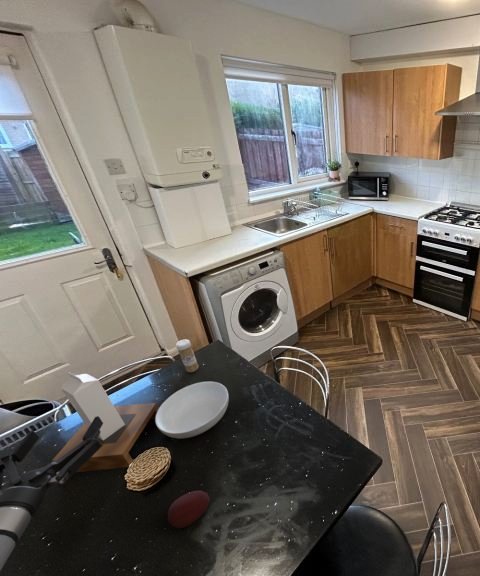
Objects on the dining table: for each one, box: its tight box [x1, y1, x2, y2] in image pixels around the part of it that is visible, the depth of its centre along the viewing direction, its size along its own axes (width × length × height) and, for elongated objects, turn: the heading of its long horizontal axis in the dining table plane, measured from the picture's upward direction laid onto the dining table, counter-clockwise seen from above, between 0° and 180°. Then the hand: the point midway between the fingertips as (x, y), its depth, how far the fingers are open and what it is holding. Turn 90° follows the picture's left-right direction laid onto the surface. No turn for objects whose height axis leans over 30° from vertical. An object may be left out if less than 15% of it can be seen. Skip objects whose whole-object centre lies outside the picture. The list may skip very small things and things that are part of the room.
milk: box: [60, 371, 125, 440], centre depth 88 cm, size 6×6×22 cm
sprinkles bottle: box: [175, 338, 199, 373], centre depth 121 cm, size 5×5×14 cm
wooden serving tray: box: [51, 402, 160, 473], centre depth 95 cm, size 18×18×6 cm
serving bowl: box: [154, 381, 230, 439], centre depth 102 cm, size 21×21×7 cm
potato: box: [167, 490, 211, 529], centre depth 78 cm, size 8×9×6 cm
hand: (67, 426), depth 79 cm, fingers open, 13 cm apart
